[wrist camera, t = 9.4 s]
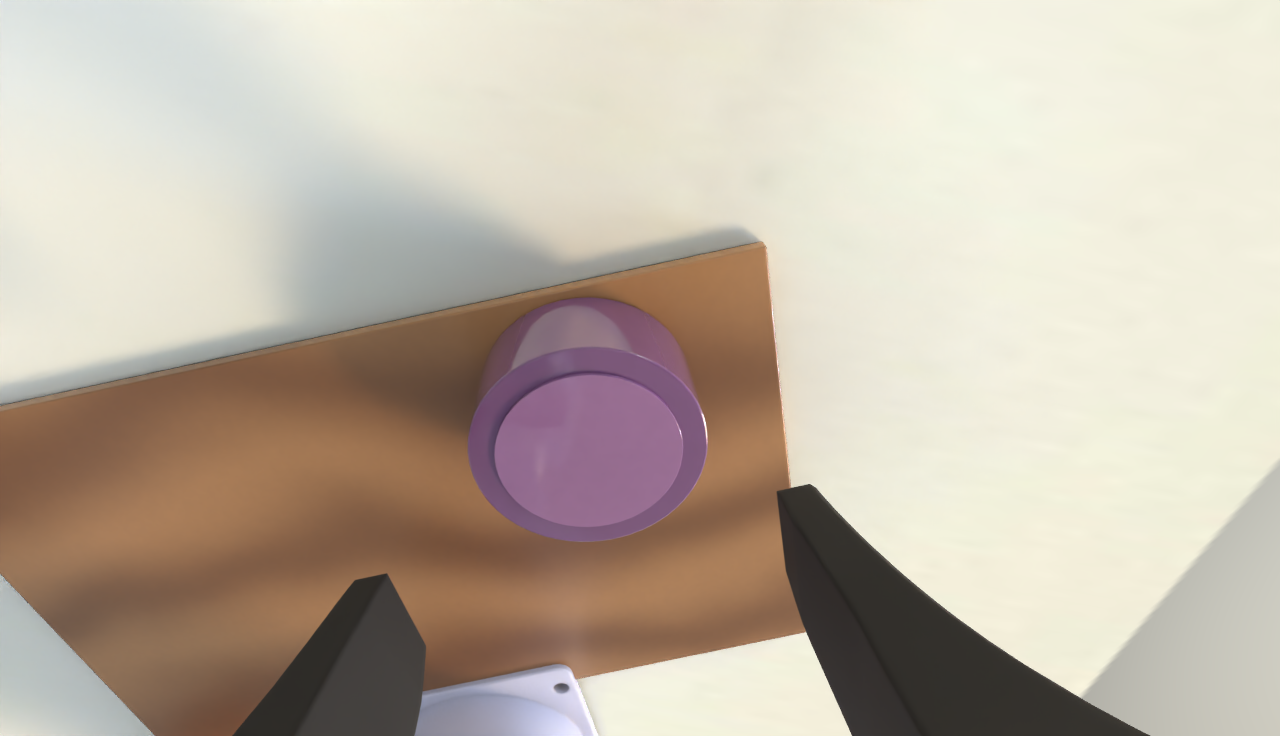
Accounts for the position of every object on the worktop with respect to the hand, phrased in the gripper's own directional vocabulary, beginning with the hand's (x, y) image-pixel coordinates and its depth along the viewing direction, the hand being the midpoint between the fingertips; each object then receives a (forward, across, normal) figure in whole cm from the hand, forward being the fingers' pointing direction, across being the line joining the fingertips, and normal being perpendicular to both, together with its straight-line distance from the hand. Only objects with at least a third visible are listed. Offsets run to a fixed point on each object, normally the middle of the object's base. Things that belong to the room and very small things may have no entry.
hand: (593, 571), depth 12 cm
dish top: (+6, 0, 0) cm, 6 cm away
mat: (+6, +6, +4) cm, 10 cm away
